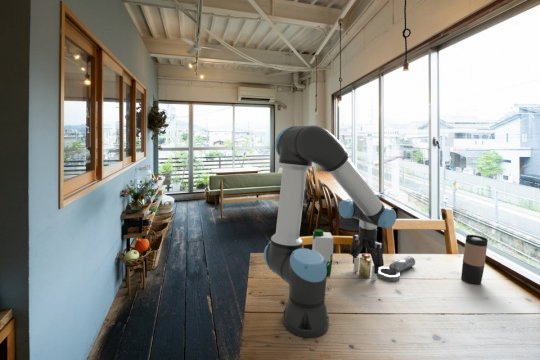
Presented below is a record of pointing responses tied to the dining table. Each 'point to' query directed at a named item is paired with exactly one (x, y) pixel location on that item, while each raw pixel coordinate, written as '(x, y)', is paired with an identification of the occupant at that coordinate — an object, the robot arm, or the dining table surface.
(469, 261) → the travel mug
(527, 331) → the dining table surface
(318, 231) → the milk carton
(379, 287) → the dining table surface
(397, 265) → the grey ring-headed tool
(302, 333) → the robot arm
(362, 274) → the yellow jar pink lid
